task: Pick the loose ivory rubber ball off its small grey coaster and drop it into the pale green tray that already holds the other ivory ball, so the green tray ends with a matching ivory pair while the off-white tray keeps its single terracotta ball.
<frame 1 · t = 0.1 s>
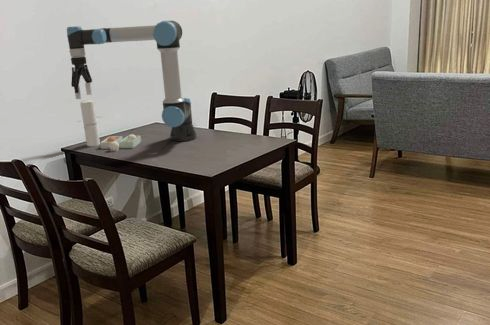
hand: (84, 96, 264), 28 cm above the table, fingers open, 13 cm apart
cylindrical container: (93, 145, 274), on the table
ivory ball: (114, 150, 260), on the table, touching coaster
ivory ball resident: (132, 143, 272), point 1 cm above the table, touching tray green
tray offwhite: (112, 146, 270), on the table
coaster: (115, 151, 260), on the table
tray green: (130, 145, 269), on the table
terracotta ball: (112, 145, 270), point 1 cm above the table, touching tray offwhite
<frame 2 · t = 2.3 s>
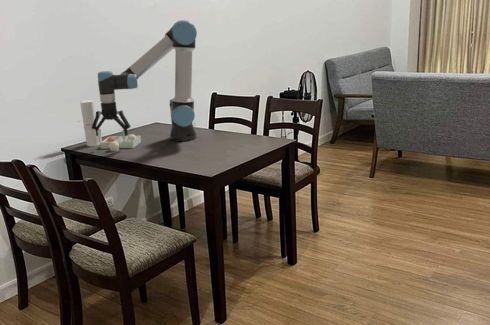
hand: (112, 141, 258), 5 cm above the table, fingers open, 13 cm apart
nothing on the table moved.
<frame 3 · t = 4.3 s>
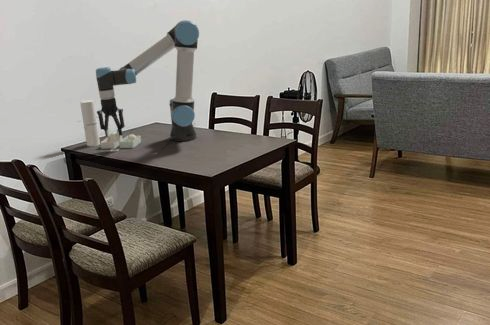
hand: (115, 141, 259), 5 cm above the table, fingers closed on ivory ball, 5 cm apart
ivory ball: (115, 141, 259), point 5 cm above the table, touching gripper
everything else where it was.
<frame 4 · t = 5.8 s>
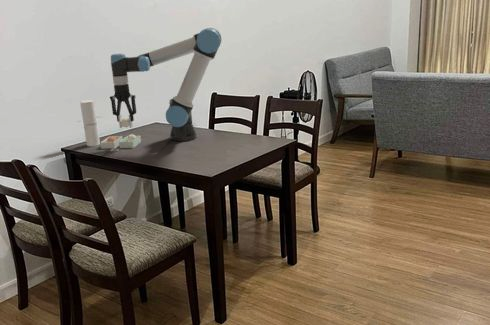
hand: (126, 127, 263), 11 cm above the table, fingers closed on ivory ball, 5 cm apart
ivory ball: (126, 127, 263), point 11 cm above the table, touching gripper
everything else where it was.
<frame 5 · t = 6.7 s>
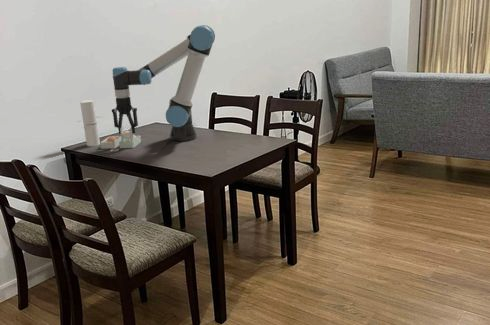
hand: (127, 139, 265), 4 cm above the table, fingers closed on ivory ball, 5 cm apart
ivory ball: (127, 139, 265), point 4 cm above the table, touching gripper
everything else where it was.
when the fingers open (4 cm above the table, at t = 8.1 s): ivory ball stays where it is, resting on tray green.
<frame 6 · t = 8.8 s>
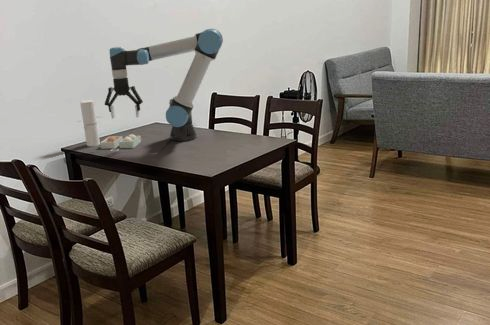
hand: (125, 117, 262), 16 cm above the table, fingers open, 13 cm apart
ivory ball: (129, 145, 266), point 1 cm above the table, tilted 11°, touching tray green
everything else where it was.
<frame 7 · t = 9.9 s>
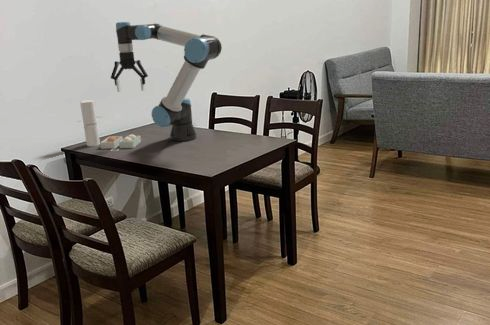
hand: (131, 91, 270), 29 cm above the table, fingers open, 13 cm apart
nothing on the table moved.
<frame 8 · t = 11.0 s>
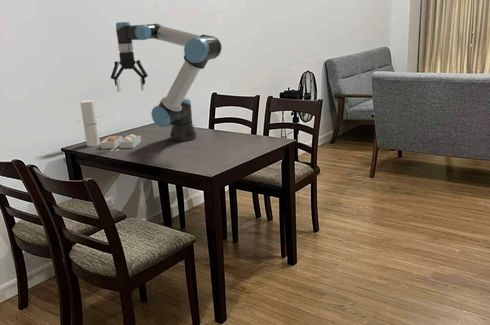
hand: (131, 91, 270), 29 cm above the table, fingers open, 13 cm apart
nothing on the table moved.
at the end: ivory ball inside the target area on the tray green (2.7 cm from its centre), point 0.6 cm above the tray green's base; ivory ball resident 3.3 cm from the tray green (horizontally); the gripper is holding nothing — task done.
